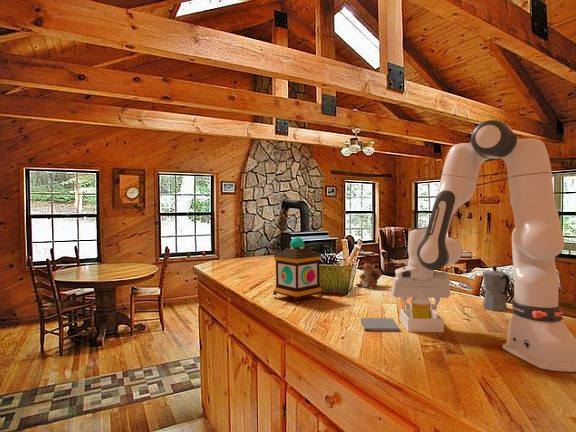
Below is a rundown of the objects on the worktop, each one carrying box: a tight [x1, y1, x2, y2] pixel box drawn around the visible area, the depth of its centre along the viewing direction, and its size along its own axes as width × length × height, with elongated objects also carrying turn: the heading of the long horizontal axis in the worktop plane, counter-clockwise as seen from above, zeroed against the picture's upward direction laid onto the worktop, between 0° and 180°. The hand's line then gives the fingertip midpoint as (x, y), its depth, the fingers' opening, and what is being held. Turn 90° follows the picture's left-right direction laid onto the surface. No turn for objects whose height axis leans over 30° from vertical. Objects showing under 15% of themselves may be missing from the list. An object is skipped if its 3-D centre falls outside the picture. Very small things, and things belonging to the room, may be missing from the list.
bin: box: [399, 308, 445, 333], centre depth 134 cm, size 12×12×4 cm
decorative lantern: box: [272, 236, 324, 303], centre depth 178 cm, size 20×20×30 cm
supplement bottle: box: [410, 293, 431, 319], centre depth 134 cm, size 7×7×13 cm
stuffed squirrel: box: [355, 262, 382, 289], centre depth 202 cm, size 10×14×13 cm
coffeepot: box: [482, 266, 511, 312], centre depth 155 cm, size 15×9×18 cm, turn 6°
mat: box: [360, 317, 401, 332], centre depth 135 cm, size 12×12×1 cm
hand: (420, 309), depth 134 cm, fingers open, 8 cm apart
